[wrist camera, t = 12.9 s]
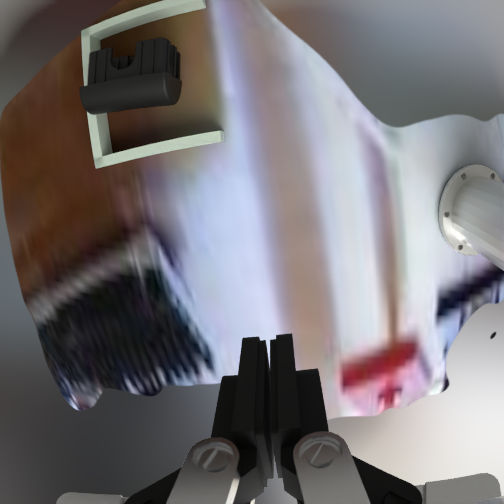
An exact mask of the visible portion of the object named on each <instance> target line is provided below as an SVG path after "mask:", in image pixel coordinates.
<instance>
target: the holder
mask: <svg viewBox="0 0 504 504" xmlns="http://www.w3.org/2000/svg"><path fill="white" fill-rule="evenodd" d="M204 8H206V3H205V0H163V1H160V2H156V3H153V4H150V5H147V6H144V7H140V8H137V9H134V10H132V11H129V12H126V13H123V14H121V15H118V16H115V17H113V18H110V19H108V20H105V21H103V22H100V23H98V24H96V25H93V26H91V27H89V28H86V29H84V30H82V31H81V36H82V61H83V76H84V86H86V85H87V83H88V65H89V53H90V52H94V51H97V50H101V45H100V40H101V39H104V38H106V37H109V36H111V35H114V34H117V33H119V32H122V31H125V30H128V29H131V28H134V27H137V26H140V25H143V24H146V23H149V22H153V21H156V20H159V19H163V18H167V17H170V16H174V15H178V14H182V13H186V12H190V11H195V10H200V9H204ZM87 115H88V123H89V130H90V137H91V144H92V150H93V156H94V162H95V167H96V169H97V168H101V167H105V166H109V165H112V164H116V163H120V162H124V161H128V160H132V159H137V158H141V157H145V156H150V155H154V154H159V153H164V152H168V151H173V150H178V149H184V148H189V147H194V146H200V145H206V144H212V143H218V142H224V141H225V138H224V131H214V132H208V133H202V134H197V135H192V136H186V137H181V138H176V139H172V140H167V141H162V142H158V143H153V144H149V145H145V146H141V147H136V148H132V149H128V150H125V151H121V152H117V153H113V151H112V145H111V139H110V132H109V125H108V118H107V113H103V114H97V115H92V114H90V113H88V112H87Z"/></svg>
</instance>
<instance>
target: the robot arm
mask: <svg viewBox="0 0 504 504" xmlns="http://www.w3.org/2000/svg"><path fill="white" fill-rule="evenodd" d="M439 224H440V228H441V232H442V234H443V237H444V239H445V240H446V242H447V243H448V245H449V246H450V247H452V248H453V249H454V250H455V251H457V252H458V253H461V254H463V255H470V256H471V255H477V254H479V253H480V254H481V255H482V256H484V257H485V258H487V259H488V260H489V261H491V262H492V263H494V264H495V265H496V266H498V267H499V268H500V269H502V270H503V271H504V183H502V181H501V179H500V177H499V176H498V175H497V174H496V172H494V171H493V170H492V169H491V168H488V167H486V166H483V165H479V164H471V165H467V166H464V167H463V168H461V169H459V170H458V171H457V172H456V173H455V174H453V176H452V177H451V178H450V180H449V181H448V183H447V185H446V186H445V188H444V191H443V194H442V196H441V201H440V205H439ZM274 456H275V462H276V468H277V473H278V478H283V483H284V489H285V491H286V492H287V493H289V494H290V495H292V496H293V497H295V498H296V499H297V504H504V496H501V492H500V485H499V482H498V480H497V479H496V478H495V477H494V476H493V475H491V474H488V473H481V474H476V475H471V476H466V477H460V478H454V479H448V480H441V481H434V482H426V483H425V485H418V486H414V485H412V484H411V483H408V482H406V481H404V480H402V479H399V478H397V477H395V476H393V475H391V474H388V473H386V472H384V471H382V470H380V469H378V468H376V467H374V466H372V465H370V464H368V463H366V462H364V461H362V460H360V459H358V458H356V457H354V456H352V455H351V453H350V451H349V448H348V446H347V444H346V442H345V441H344V439H342V438H341V437H340V436H339V435H337V434H334V433H332V432H329V430H328V424H327V417H326V411H325V405H324V399H323V393H322V388H321V382H320V376H319V371H318V368H317V369H309V370H300V371H296V368H295V358H294V348H293V338H292V334H283V335H276V339H274V340H270V368H269V361H268V353H267V346H266V341H265V340H263V341H260V339H259V337H248V338H243V339H242V347H241V355H240V363H239V371H238V375H234V376H223V377H222V380H221V386H220V391H219V396H218V402H217V407H216V413H215V418H214V424H213V429H212V435H211V438H207V439H203V440H201V441H199V442H197V443H196V444H195V445H194V446H192V447H191V449H190V451H189V452H188V454H187V457H186V459H185V461H184V464H183V466H182V467H181V468H180V469H178V470H176V471H175V472H173V473H171V474H170V475H168V476H166V477H164V478H163V479H161V480H159V481H157V482H156V483H154V484H152V485H150V486H148V487H147V488H145V489H143V490H141V491H139V492H137V493H135V494H133V495H132V496H131V497H129V498H128V497H126V498H125V497H122V496H121V495H101V494H86V493H85V494H84V493H74V492H71V493H66V494H64V495H62V496H61V497H60V498H59V499H58V500H57V503H56V504H254V503H255V498H256V497H257V496H258V495H260V494H261V493H262V492H264V487H267V479H270V478H273V470H274V467H273V466H274V464H273V463H274V462H273V461H274Z"/></svg>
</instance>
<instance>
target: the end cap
mask: <svg viewBox="0 0 504 504" xmlns="http://www.w3.org/2000/svg"><path fill="white" fill-rule="evenodd" d="M112 58H113V48H112V47H110V48H106V49H101V50H97V51H94V52H90V53H89V65H88V83H87V85H86V86H82V87H79V88H80V98H81V102H82V104H83V107H84V108H85V110H86V111H87V112H88V113H90V114H92V115H97V114H103V113H109V112H116V111H123V110H130V109H138V108H147V107H156V106H167V105H174V104H176V103H177V101H178V100H179V97H180V93H181V86H182V81H180V53H178V52H177V48H176V47H175V46H174V45H171V42H170V41H168V40H167V39H166V38H156V39H150V40H144V41H139V42H136V54H135V57H130V56H122V57H117V58H113V59H112Z"/></svg>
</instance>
